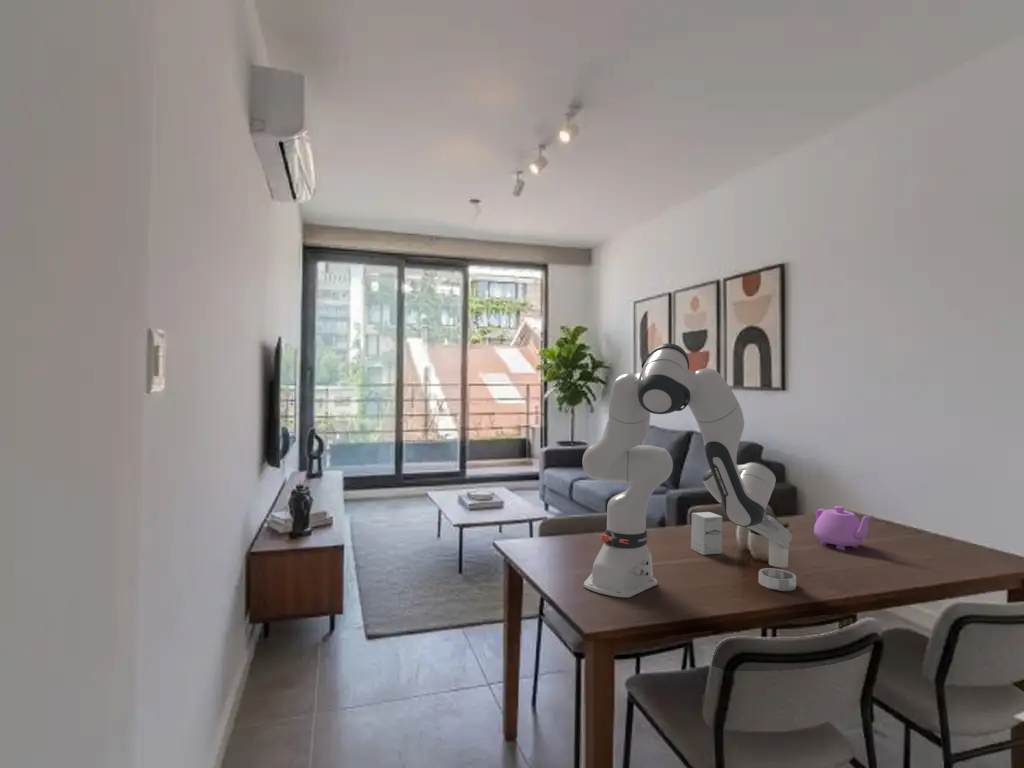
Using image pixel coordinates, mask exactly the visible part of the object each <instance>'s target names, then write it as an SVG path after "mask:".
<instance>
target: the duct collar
mask: <svg viewBox="0 0 1024 768" xmlns="http://www.w3.org/2000/svg"><path fill="white" fill-rule="evenodd" d="M758 584H760V585H761V586H762V587H765V588H766V589H770V590H775V591H778V592H779V591H781V592H790V591H794V590H796V588H797V575H795V573H793V572H791V571H789V570H786V569H782V568H781V569H780V568H777V567H774V568H773V567H772V568H771V567H769V568H768V567H766V568H760V569H759V571H758Z"/></svg>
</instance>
